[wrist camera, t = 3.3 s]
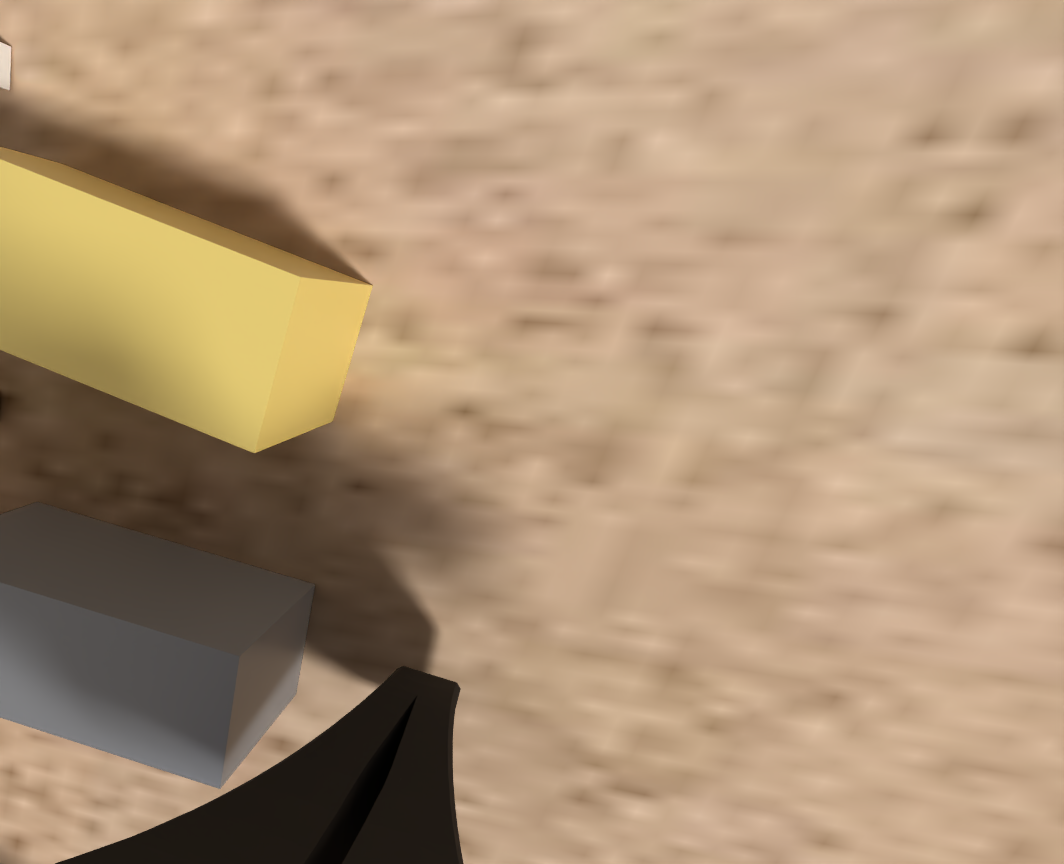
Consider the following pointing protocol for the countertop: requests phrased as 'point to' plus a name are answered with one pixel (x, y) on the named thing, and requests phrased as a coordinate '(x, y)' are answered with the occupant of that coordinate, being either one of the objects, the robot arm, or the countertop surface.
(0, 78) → the rack
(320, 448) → the countertop surface
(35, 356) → the mustard plug
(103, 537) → the charcoal plug
